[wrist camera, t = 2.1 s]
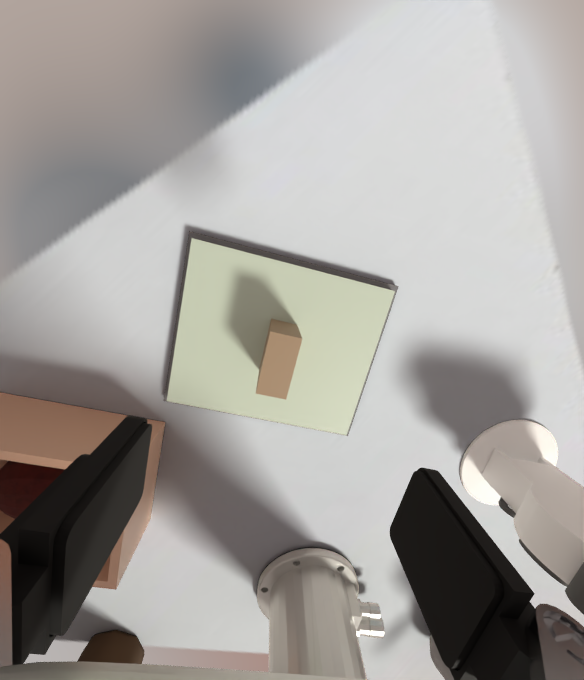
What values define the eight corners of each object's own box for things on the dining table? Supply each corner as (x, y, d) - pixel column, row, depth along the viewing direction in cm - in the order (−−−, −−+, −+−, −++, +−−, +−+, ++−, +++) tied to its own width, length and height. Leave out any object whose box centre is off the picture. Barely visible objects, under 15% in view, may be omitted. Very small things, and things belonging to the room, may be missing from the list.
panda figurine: (440, 494, 33) (569, 672, 19) (478, 409, 30) (664, 541, 16) (528, 509, 34) (711, 685, 20) (572, 429, 32) (820, 567, 17)
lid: (391, 290, 26) (424, 297, 20) (344, 430, 29) (361, 470, 24) (194, 238, 24) (169, 230, 18) (169, 397, 27) (142, 431, 22)
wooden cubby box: (165, 422, 28) (131, 470, 22) (150, 519, 31) (116, 589, 25) (-3, 391, 27) (-97, 435, 20) (-2, 498, 30) (-83, 567, 23)
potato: (23, 428, 28) (-46, 472, 22) (128, 431, 29) (90, 474, 23) (34, 488, 30) (-26, 544, 24) (133, 490, 30) (99, 545, 24)
